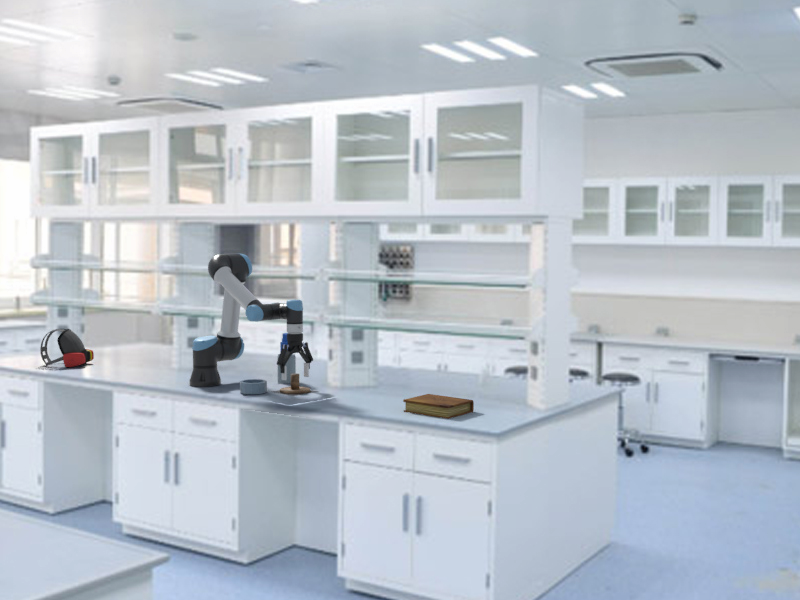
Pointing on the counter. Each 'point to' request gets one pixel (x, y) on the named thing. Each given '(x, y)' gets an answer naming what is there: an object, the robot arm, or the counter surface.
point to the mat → (295, 394)
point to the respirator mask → (68, 349)
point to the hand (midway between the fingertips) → (295, 378)
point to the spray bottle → (289, 365)
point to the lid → (295, 386)
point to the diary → (439, 406)
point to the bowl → (253, 386)
